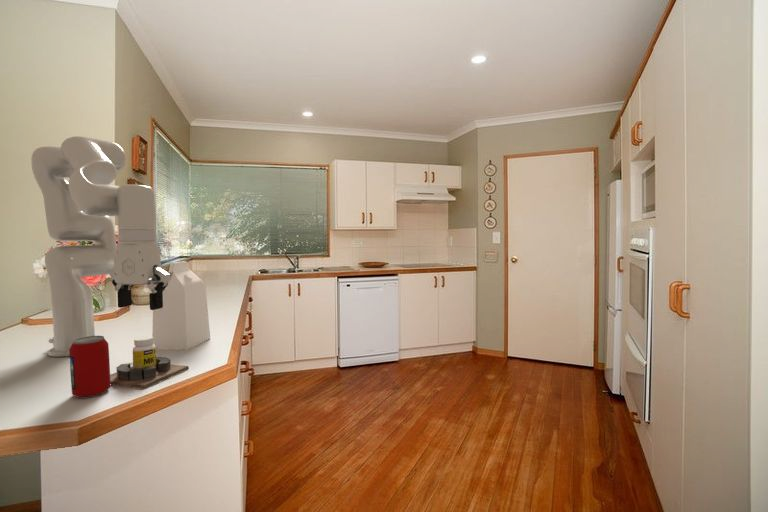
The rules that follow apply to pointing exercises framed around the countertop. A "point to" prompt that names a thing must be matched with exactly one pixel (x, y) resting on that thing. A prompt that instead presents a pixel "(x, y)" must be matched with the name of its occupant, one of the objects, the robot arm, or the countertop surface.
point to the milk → (181, 311)
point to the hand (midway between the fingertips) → (140, 307)
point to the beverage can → (89, 366)
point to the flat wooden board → (145, 374)
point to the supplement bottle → (144, 352)
